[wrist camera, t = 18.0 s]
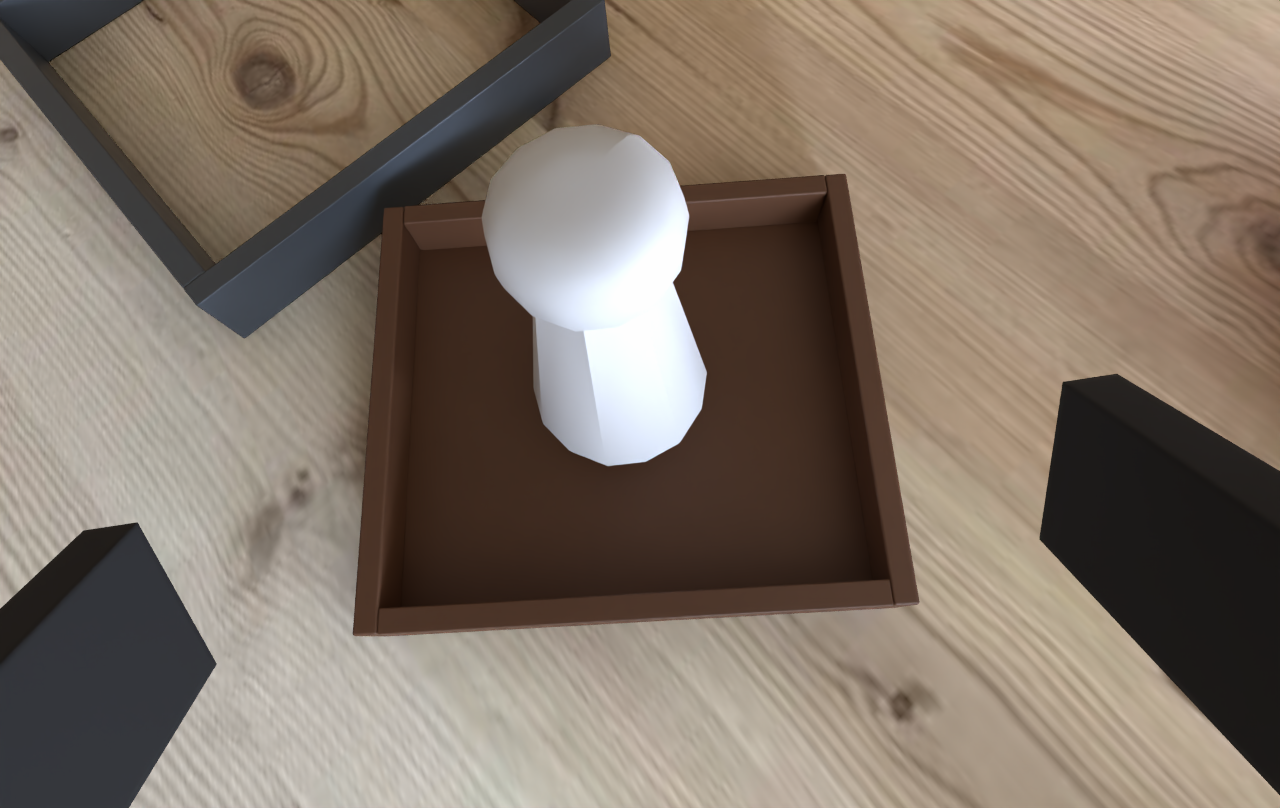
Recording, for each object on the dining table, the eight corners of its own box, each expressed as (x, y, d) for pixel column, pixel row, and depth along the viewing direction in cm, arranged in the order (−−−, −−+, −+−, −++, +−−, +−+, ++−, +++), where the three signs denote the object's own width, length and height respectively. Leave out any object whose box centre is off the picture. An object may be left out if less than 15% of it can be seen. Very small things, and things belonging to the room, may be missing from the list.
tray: (384, 636, 24) (351, 636, 22) (407, 243, 29) (382, 206, 27) (895, 607, 24) (920, 604, 21) (831, 212, 29) (846, 172, 26)
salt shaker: (724, 452, 25) (771, 276, 13) (571, 501, 25) (471, 369, 13) (673, 312, 27) (672, 40, 15) (530, 356, 27) (406, 117, 14)
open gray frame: (244, 339, 28) (196, 305, 25) (20, 62, 34) (-41, 9, 31) (611, 56, 32) (604, -1, 29) (357, -154, 37) (331, -220, 34)
